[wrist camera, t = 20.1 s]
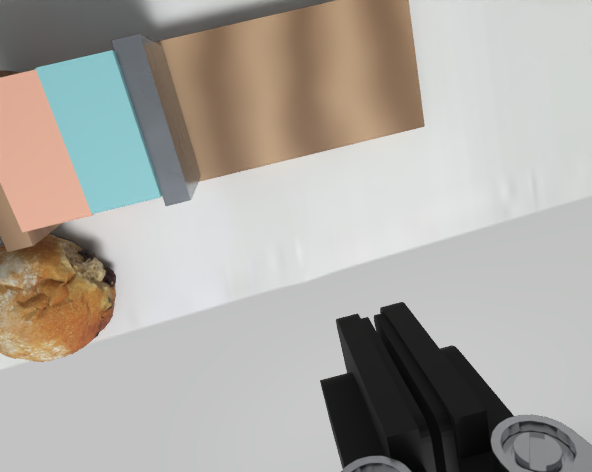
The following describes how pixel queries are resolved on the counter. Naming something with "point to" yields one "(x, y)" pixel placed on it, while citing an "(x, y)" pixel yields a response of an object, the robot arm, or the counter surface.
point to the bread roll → (52, 299)
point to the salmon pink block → (35, 157)
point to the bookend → (159, 116)
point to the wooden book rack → (285, 88)
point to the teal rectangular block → (100, 130)
